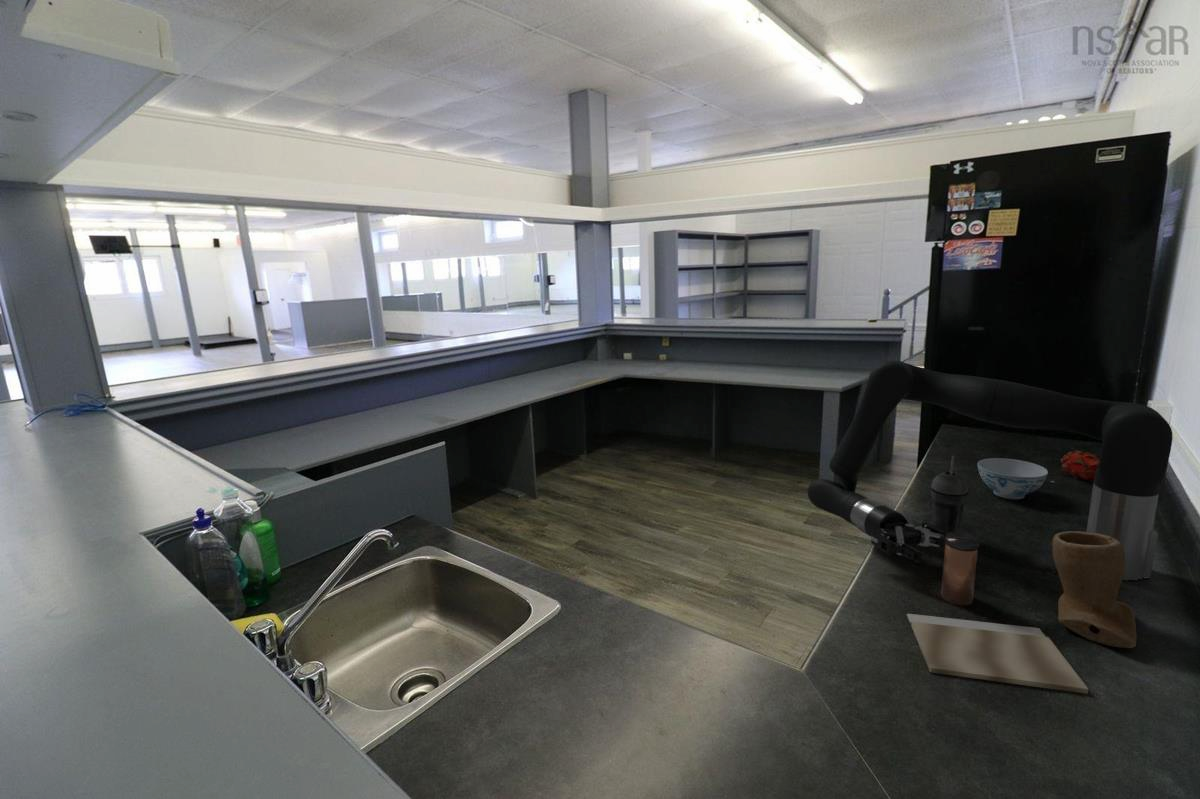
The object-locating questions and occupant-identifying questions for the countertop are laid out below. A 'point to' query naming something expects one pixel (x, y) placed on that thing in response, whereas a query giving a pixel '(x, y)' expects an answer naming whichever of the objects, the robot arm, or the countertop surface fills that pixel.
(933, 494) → the beverage cup
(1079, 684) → the board
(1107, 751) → the countertop surface
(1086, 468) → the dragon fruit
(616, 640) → the countertop surface
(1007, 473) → the chinaware
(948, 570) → the canister
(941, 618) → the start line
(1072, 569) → the brown hollow flared piece
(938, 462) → the countertop surface
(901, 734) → the countertop surface
